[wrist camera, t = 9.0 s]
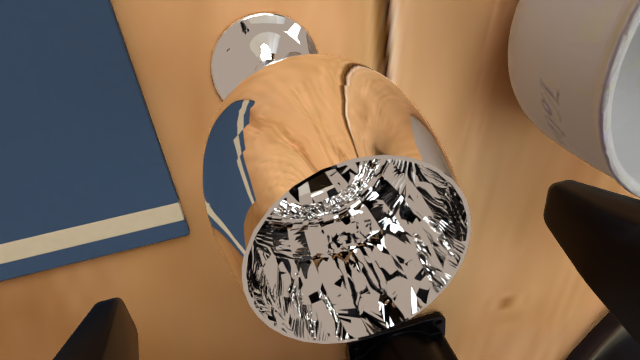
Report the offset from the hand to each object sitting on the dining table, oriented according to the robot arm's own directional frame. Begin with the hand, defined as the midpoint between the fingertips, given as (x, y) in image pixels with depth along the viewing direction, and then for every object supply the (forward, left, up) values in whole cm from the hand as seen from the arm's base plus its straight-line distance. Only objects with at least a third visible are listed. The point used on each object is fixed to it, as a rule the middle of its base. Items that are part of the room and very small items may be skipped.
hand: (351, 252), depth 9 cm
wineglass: (0, 0, -12) cm, 12 cm away
